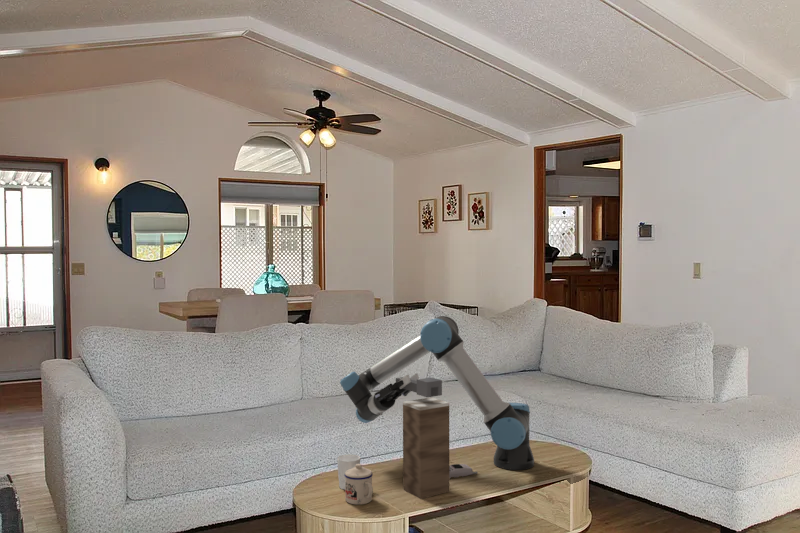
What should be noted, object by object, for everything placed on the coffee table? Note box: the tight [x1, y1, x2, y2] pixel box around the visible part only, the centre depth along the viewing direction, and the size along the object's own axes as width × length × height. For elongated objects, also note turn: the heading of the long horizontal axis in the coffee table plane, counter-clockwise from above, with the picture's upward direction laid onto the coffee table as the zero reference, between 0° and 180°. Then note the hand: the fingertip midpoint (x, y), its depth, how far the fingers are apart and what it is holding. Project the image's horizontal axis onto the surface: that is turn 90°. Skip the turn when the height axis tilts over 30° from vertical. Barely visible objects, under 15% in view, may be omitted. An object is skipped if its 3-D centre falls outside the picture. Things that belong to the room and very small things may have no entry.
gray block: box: [395, 376, 443, 398], centre depth 237 cm, size 21×6×5 cm, turn 34°
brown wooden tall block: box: [402, 397, 450, 500], centre depth 233 cm, size 10×12×30 cm
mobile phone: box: [449, 463, 478, 479], centre depth 248 cm, size 6×6×25 cm
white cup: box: [336, 454, 361, 491], centre depth 238 cm, size 8×8×10 cm
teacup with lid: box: [344, 463, 374, 506], centre depth 224 cm, size 12×9×12 cm
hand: (413, 377), depth 239 cm, fingers closed on gray block, 3 cm apart
